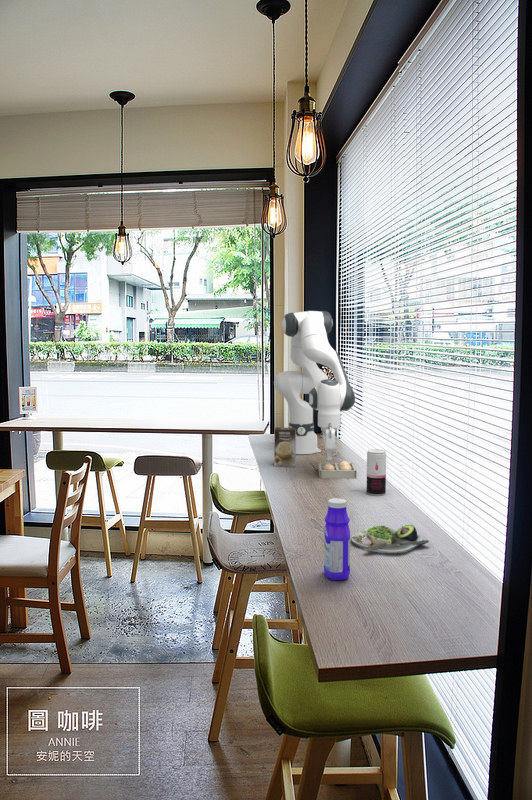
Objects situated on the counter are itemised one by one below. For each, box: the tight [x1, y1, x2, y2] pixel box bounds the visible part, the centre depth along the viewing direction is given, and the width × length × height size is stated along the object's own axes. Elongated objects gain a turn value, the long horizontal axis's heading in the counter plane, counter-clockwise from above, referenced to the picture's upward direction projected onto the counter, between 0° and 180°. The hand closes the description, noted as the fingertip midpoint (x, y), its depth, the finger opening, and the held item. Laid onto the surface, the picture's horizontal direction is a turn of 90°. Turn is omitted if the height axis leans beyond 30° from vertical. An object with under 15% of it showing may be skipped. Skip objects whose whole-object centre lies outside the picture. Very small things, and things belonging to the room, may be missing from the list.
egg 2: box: [339, 460, 350, 466], centre depth 228 cm, size 5×5×5 cm
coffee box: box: [273, 426, 297, 468], centre depth 243 cm, size 9×6×16 cm
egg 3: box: [340, 464, 352, 470], centre depth 221 cm, size 5×5×5 cm
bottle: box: [323, 497, 351, 581], centre depth 128 cm, size 7×6×17 cm
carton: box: [318, 462, 357, 480], centre depth 225 cm, size 14×14×4 cm
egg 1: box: [323, 464, 334, 470], centre depth 222 cm, size 5×5×5 cm
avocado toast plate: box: [350, 524, 430, 555], centre depth 148 cm, size 19×18×5 cm
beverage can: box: [366, 449, 387, 496], centre depth 198 cm, size 7×7×15 cm
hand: (328, 456), depth 222 cm, fingers open, 8 cm apart
